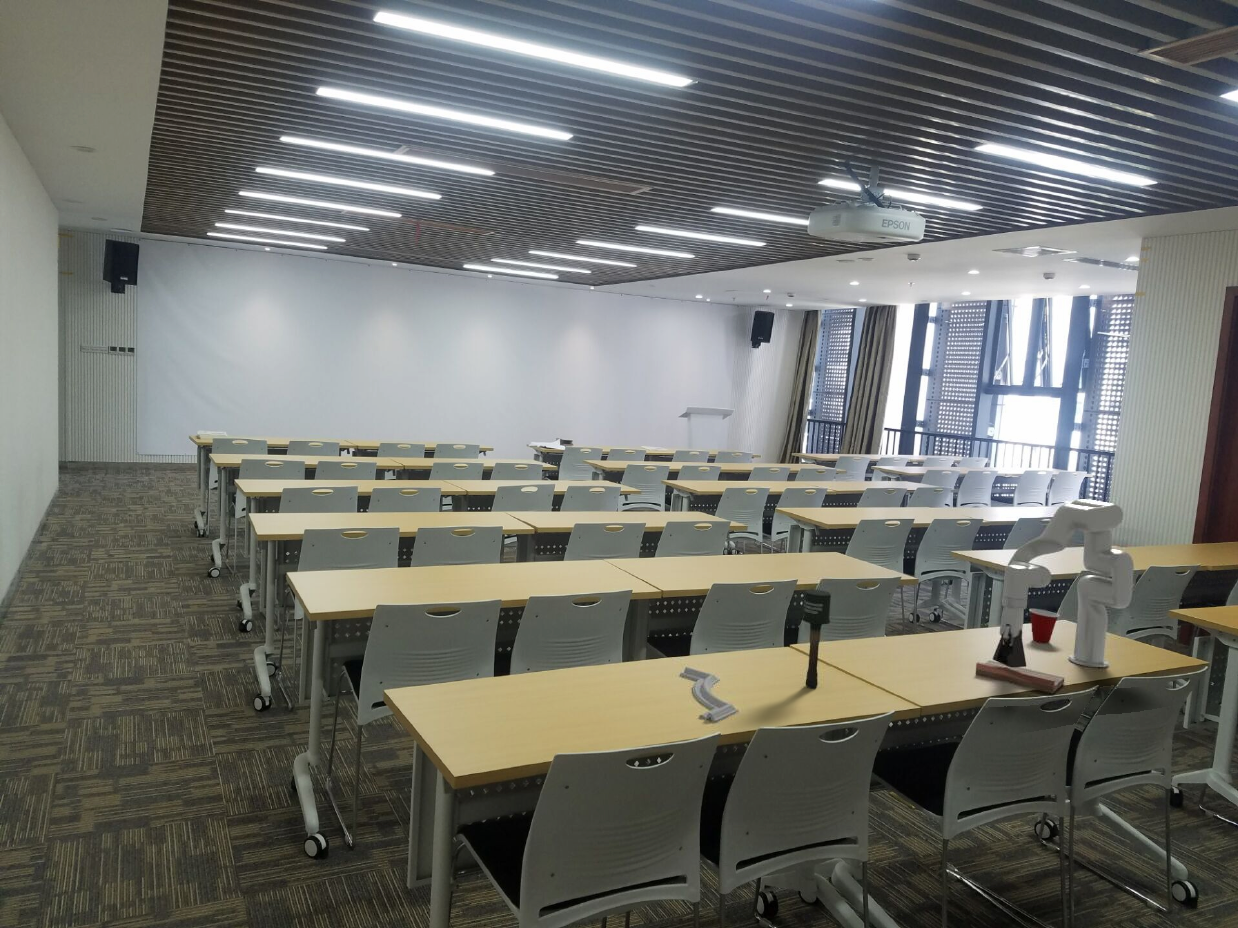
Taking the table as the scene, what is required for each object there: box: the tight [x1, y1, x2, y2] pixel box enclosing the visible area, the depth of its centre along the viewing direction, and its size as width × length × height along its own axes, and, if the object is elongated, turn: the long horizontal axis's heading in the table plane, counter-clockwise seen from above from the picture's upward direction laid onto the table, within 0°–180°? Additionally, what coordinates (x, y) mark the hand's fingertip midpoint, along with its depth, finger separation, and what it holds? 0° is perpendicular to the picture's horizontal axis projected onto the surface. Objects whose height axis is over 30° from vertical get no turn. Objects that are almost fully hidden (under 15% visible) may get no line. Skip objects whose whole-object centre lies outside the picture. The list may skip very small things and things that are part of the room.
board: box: [975, 660, 1065, 694], centre depth 288 cm, size 14×24×4 cm, turn 50°
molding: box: [679, 666, 740, 724], centre depth 257 cm, size 42×12×3 cm, turn 5°
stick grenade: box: [801, 589, 832, 689], centre depth 268 cm, size 8×9×30 cm
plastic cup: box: [1029, 608, 1060, 645], centre depth 337 cm, size 11×11×12 cm
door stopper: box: [992, 629, 1027, 668], centre depth 291 cm, size 9×6×12 cm, turn 17°
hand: (1010, 654), depth 291 cm, fingers closed on door stopper, 5 cm apart
